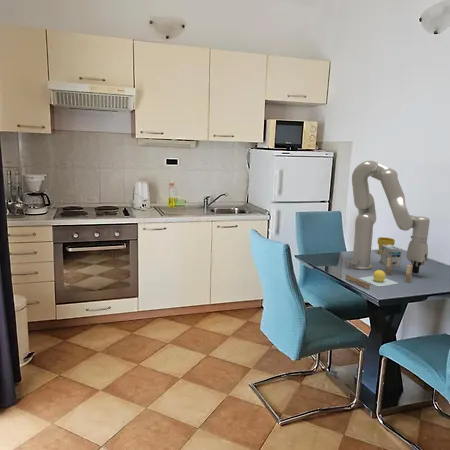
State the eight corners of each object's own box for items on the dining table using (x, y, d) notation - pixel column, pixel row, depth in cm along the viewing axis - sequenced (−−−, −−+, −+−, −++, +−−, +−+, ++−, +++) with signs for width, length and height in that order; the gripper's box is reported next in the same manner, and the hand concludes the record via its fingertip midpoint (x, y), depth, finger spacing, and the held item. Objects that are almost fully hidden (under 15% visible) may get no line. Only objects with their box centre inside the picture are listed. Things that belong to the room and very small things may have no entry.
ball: (386, 269, 210) (389, 279, 212) (377, 266, 215) (379, 276, 217) (378, 275, 208) (381, 285, 210) (369, 272, 213) (372, 282, 215)
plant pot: (396, 255, 267) (398, 240, 265) (383, 256, 264) (384, 241, 262) (386, 251, 277) (387, 236, 275) (372, 251, 274) (374, 237, 272)
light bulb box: (400, 266, 241) (402, 248, 239) (390, 267, 240) (392, 249, 238) (389, 261, 252) (391, 244, 250) (379, 262, 250) (381, 244, 248)
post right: (408, 282, 212) (410, 265, 211) (403, 281, 215) (405, 264, 213) (411, 282, 213) (413, 265, 212) (407, 280, 216) (409, 264, 214)
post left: (388, 275, 224) (389, 259, 222) (384, 273, 226) (386, 258, 224) (391, 274, 225) (393, 258, 223) (387, 273, 227) (389, 257, 226)
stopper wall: (368, 289, 200) (368, 284, 200) (345, 279, 215) (345, 274, 214) (369, 289, 201) (370, 284, 200) (346, 279, 215) (347, 274, 214)
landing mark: (378, 286, 205) (378, 286, 205) (357, 278, 217) (357, 278, 217) (398, 283, 211) (398, 283, 211) (377, 275, 223) (377, 275, 223)
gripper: (402, 237, 227) (399, 269, 230) (426, 243, 213) (422, 277, 217) (412, 236, 230) (408, 268, 233) (436, 242, 217) (431, 276, 220)
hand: (415, 272), depth 225 cm, fingers closed
